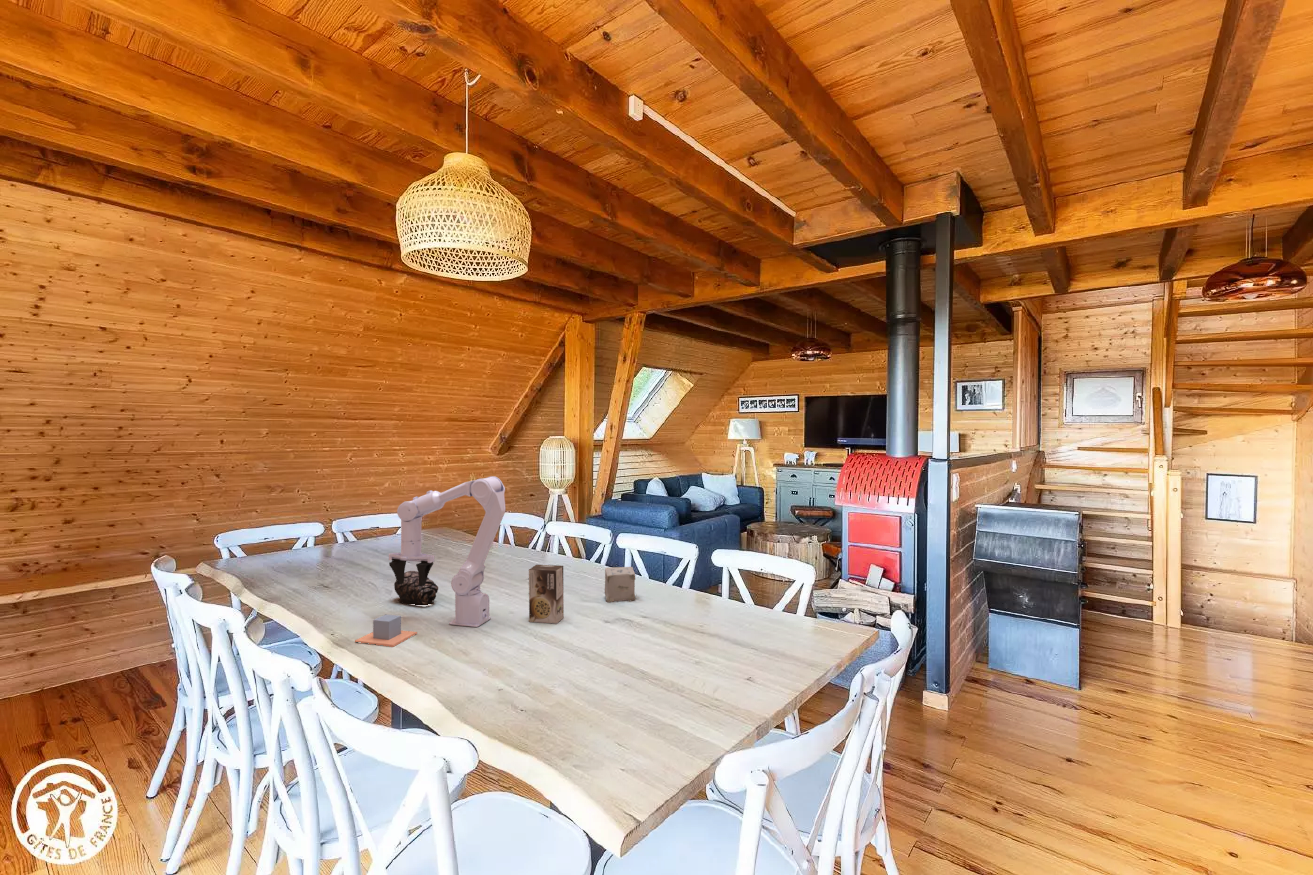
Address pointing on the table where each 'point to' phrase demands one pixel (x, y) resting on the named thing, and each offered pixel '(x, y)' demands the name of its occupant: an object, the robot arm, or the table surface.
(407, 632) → the terracotta tile
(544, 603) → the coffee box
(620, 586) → the brown cardboard box
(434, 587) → the pine cone
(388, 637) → the slate block
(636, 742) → the table surface
